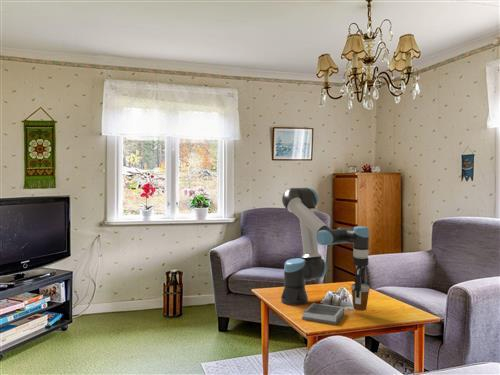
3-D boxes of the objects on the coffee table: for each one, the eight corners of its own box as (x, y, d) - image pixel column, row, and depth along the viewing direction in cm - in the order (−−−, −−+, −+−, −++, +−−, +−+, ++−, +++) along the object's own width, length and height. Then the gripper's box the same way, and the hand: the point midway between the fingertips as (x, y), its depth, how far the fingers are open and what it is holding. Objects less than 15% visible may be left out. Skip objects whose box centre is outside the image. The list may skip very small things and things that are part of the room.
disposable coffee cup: (366, 313, 199) (367, 289, 198) (347, 309, 204) (348, 286, 204) (371, 308, 207) (372, 284, 207) (353, 304, 212) (354, 282, 212)
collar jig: (302, 319, 198) (302, 312, 198) (312, 309, 213) (312, 302, 213) (336, 324, 191) (336, 317, 191) (344, 314, 206) (344, 307, 206)
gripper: (364, 261, 193) (363, 308, 194) (372, 254, 213) (371, 296, 213) (348, 260, 196) (347, 305, 197) (357, 252, 216) (356, 294, 217)
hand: (359, 300), depth 205 cm, fingers closed on disposable coffee cup, 9 cm apart
